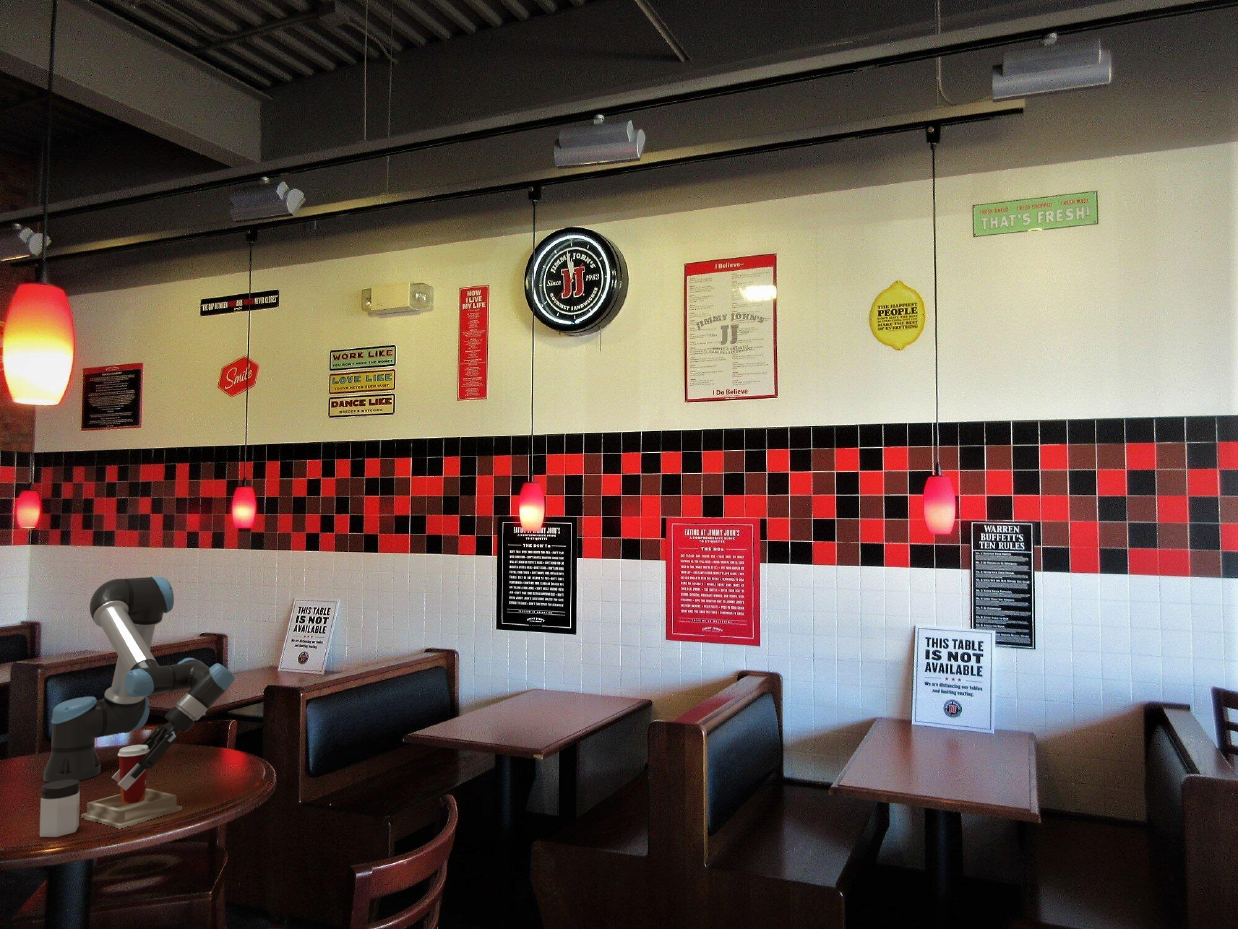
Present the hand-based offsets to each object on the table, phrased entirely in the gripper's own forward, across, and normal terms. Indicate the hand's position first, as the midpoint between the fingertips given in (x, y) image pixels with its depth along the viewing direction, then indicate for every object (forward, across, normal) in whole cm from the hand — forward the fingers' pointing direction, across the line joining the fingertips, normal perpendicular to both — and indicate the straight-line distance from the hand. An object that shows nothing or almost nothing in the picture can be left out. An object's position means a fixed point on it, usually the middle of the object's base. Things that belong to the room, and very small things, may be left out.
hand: (118, 783), depth 233 cm
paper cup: (+1, 0, -6) cm, 6 cm away
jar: (+16, -3, +3) cm, 16 cm away
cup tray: (+4, 0, -8) cm, 9 cm away
